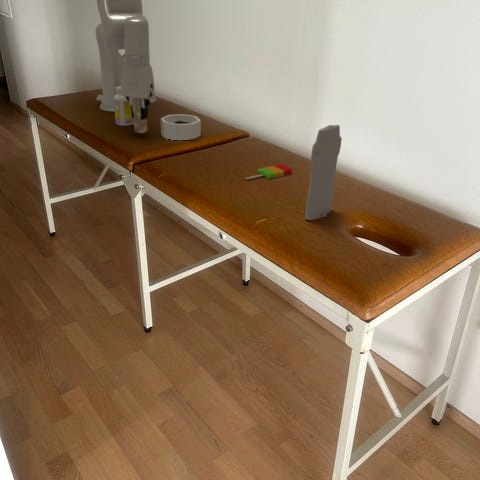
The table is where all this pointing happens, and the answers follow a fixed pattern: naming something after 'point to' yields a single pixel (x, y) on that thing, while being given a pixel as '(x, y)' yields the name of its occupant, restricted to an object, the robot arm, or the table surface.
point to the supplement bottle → (122, 109)
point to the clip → (181, 122)
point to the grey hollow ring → (180, 127)
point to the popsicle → (272, 171)
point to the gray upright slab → (323, 172)
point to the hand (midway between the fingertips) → (139, 117)
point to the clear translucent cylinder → (138, 116)
